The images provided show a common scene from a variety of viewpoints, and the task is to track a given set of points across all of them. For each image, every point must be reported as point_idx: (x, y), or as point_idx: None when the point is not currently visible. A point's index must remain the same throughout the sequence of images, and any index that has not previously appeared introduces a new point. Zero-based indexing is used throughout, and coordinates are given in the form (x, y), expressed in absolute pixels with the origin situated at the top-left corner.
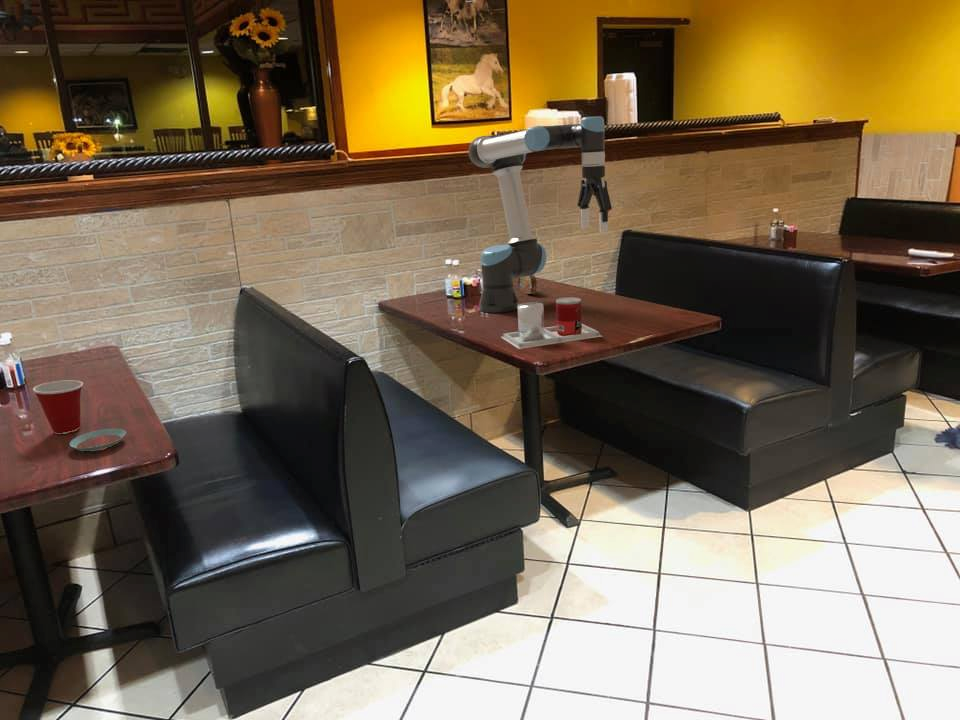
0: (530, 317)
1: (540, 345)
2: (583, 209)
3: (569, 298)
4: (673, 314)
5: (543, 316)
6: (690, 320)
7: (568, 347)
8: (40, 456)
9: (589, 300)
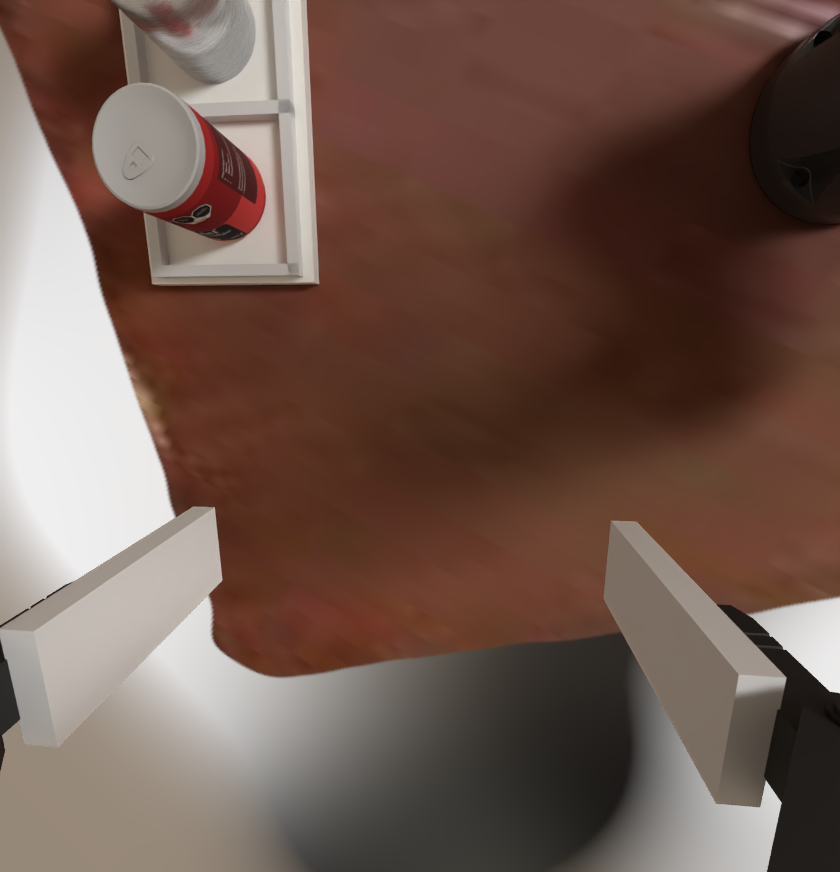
0: None
1: (121, 29)
2: (729, 699)
3: (184, 172)
4: (350, 624)
5: (127, 16)
6: (264, 619)
7: None
8: None
9: (704, 519)
